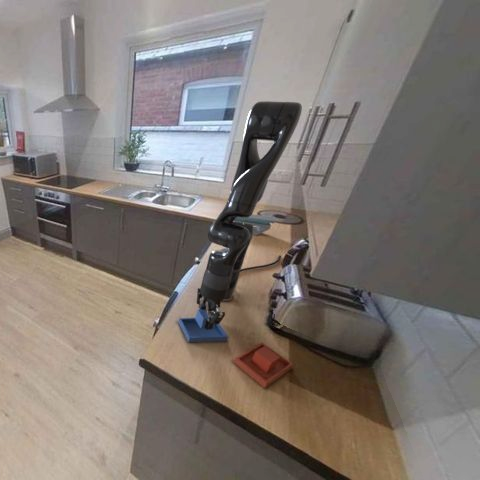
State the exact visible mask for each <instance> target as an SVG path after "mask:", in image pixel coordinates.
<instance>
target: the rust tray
mask: <svg viewBox="0 0 480 480" xmlns="http://www.w3.org/2000/svg"><path fill="white" fill-rule="evenodd" d="M264 346H265V347H266V348H268V349H269V350H271V351H272V352H273V353H275V354H276V355H278V356H279V357H280V359H279V361H278V363H277V365H276V367H275V368H274V369H272V370H271V371H269V372H268V373H267V374H266V373H265V372H263V371H262V370H261V369H260V368H258V367H257V366H256V365H254V364H253V363H252V362H251V361H252V359H253V356H254V354H255V352H256V351H257V350H259V349H261V348H262V347H264ZM233 363H234V364H235V365H236V366H237V367H238V368H240V370H242V371H243V372H245V373H246V374H247V375H248V376H250V378H251V379H253V380H254V381H256V382H257V383H258V384H259V385H260V386H262V387H263V388H264V389H266V388H267V387H268V386H270V385H271V384H272V383H273V382H275V381H276V380H278V379H279V378H281V377H282V376H283V375H285V374H286V373H287V372H289V371H291V370H292V368H293V366H294V363H292V362H291V361H289V360H288V359H287V358H286V357H284V356H282V355H280V354H279V353H278V352H277V351H276V350H273V349H272V348H270V347H269V346H268V345H266V344H265V343H263V342H260V343H258V344H257V345H255V346H252V348H250V349H248V350H246V351H245V352H243V353H242V354H240V355H238V356H237V357H235V359H234V361H233Z"/></svg>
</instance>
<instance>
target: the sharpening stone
mask: <svg viewBox="0 0 480 480" xmlns="http://www.w3.org/2000/svg"><path fill="white" fill-rule="evenodd" d="M234 221H239V222H245V223H250V224H252V225H253V226H254V232H253V236H258V235H260V234H262V233H265V232H266V231H269V230H271V227H272V225H271V224H275V223H276V221H275V219H274V217H273V216H269V215H268V216H267V215H261V214H253V213H252V215H251V216H250V217H237V218H236V219H235V220H234Z"/></svg>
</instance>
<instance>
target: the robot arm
mask: <svg viewBox="0 0 480 480" xmlns="http://www.w3.org/2000/svg"><path fill="white" fill-rule="evenodd" d="M302 111H303V106H302V104H301V103H300V102H296V101H271V100H269V101H268V100H267V101H266V100H265V101H263V100H262V101H257V102H256V103H254V105H253V106H252V107H251V109H250V111H249V113H248V116H247V118H246V122H245V126H244V133H243V137H242V143H241V148H240V154H239V157H238V162H237V166H236V169H235V173H234V176H233V179H232V182H231V187H230V191H229V195H228V198H227V201H226V203H225V205H224V207H223V209H222V210H221V212H220V213H219V215H218V216H217V218H216V219H214V221H213V222H212V224H211V225H210V226H209V228H208V231H207V238H208V241H209V242H210V243H212V244H214V245H216V246H217V245H218V246H221V247H223V248H221V249H216V250H212V251H211V252H210V254H209V256H208V259H207V263H206V266H205V267H206V268H205V270H204V272H203V276H202V280H201V284H200V287H197V292H196V293H197V294H196V304H197V305H198V310H199V309H206V314H207V321H206V324H205V329H206V330H208V329H212V328H213V325H214V324H220V323H221V322H222V320H223V319H224V318H225V316H226V312H225V311H222V310H221V303H222V302H229V301H231V300H232V299H233V297H234V294H235V290H236V289H237V288H236V287H237V285H238V281H239V279H240V277H239V276H240V273H241V272H245V271H249V270H255V269H262V268H267V267H271V266H273V265H276V264H278V263H279V261H280V260H281V258H282V255H281V254H279V255H278V257H277V259H276V260H274V261H273V262H271V263H267V264H263V265H256V266H252V267H245V268H242V267H243V263H244V261H245V257H246V254H247V251H248V248H249V246H250V244H251V241H252V240H253V239H252V238H253V236H254V235H253V232H254V227H255V226H253V225H252V224H250V223H245V222H239V221H234V220H235V219H236V218H237V217H250V216H251V215H252V214H253V213H254V211H255V209H256V206H257V204H258V203H259V202H260V201H261V199H262V198H263V196H264V193H265V190H266V188H267V185H268V183H269V182H268V181H269V178H270V176H271V174H272V173H273V171H274V170H275V168H276V166H277V164H278V163H279V161H280V160H281V158H282V156H283V153H284V151H285V150H286V148H287V146H288V144H289V142H290V140H291V139H292V137H293V134H294V133H295V131H296V128H297V127H298V124H299V122H300V118H301V117H302ZM258 140H259V141H268V142H270V141H271V142H273V143H272V144H271V146H270V148H269V150H267V152H266V153H265V154H264V155H263V156H262V157H260V155H259V151H258ZM209 311H212V312H209ZM211 315H213V317H212V318H210V317H211Z"/></svg>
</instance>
